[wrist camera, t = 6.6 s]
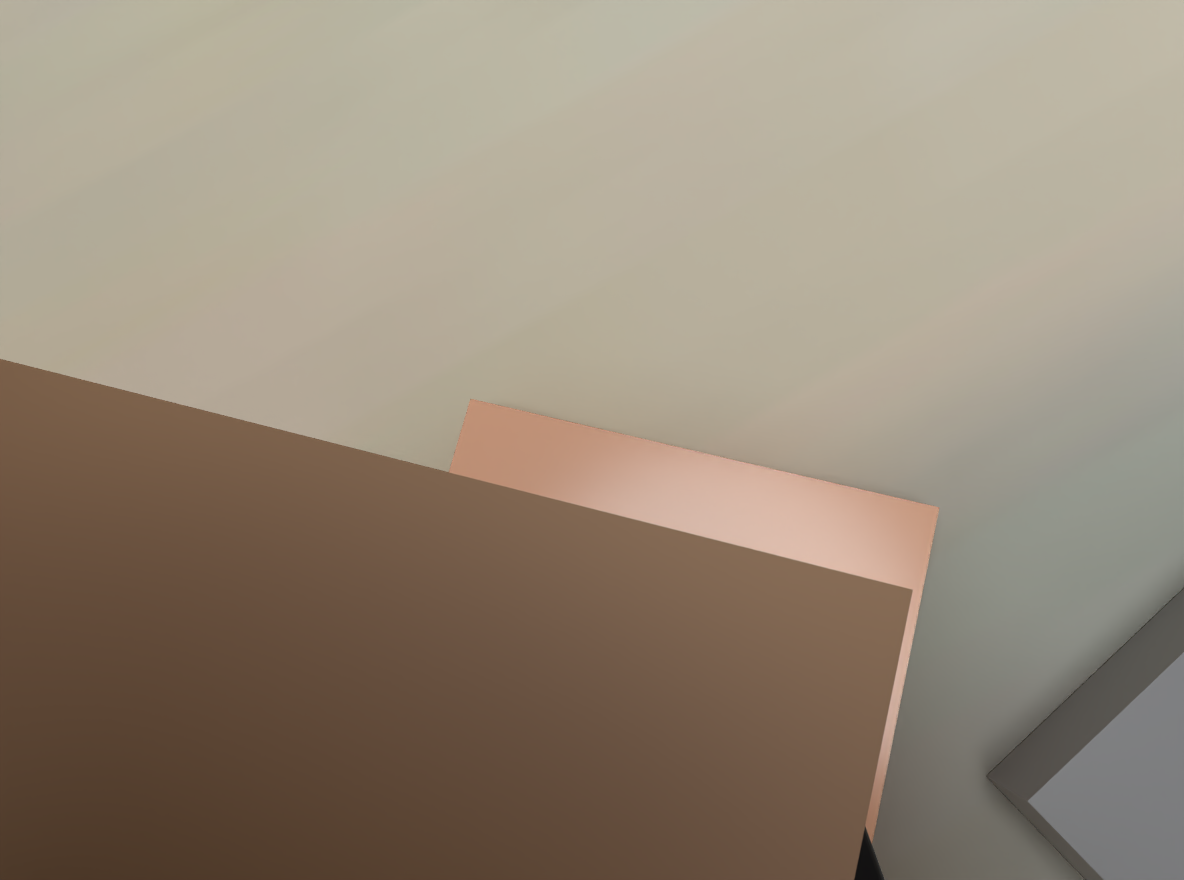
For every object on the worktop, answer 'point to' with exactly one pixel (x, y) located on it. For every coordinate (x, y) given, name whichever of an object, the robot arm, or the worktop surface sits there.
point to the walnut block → (401, 669)
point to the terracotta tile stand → (711, 507)
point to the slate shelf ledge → (1113, 762)
